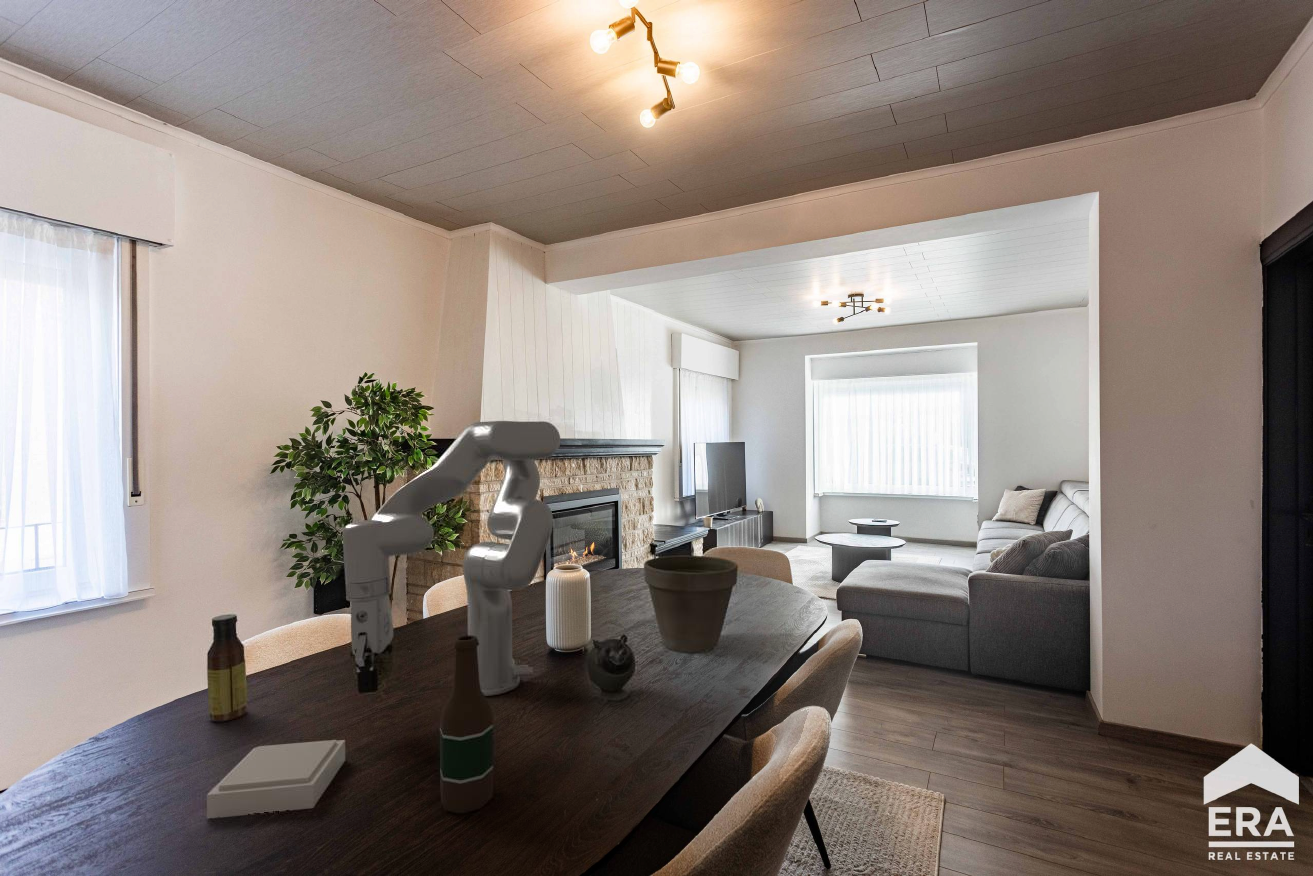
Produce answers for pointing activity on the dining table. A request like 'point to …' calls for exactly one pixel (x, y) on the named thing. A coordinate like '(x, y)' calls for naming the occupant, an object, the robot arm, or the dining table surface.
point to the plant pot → (690, 599)
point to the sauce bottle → (226, 671)
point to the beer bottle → (466, 736)
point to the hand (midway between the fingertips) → (374, 682)
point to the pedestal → (277, 779)
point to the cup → (378, 665)
